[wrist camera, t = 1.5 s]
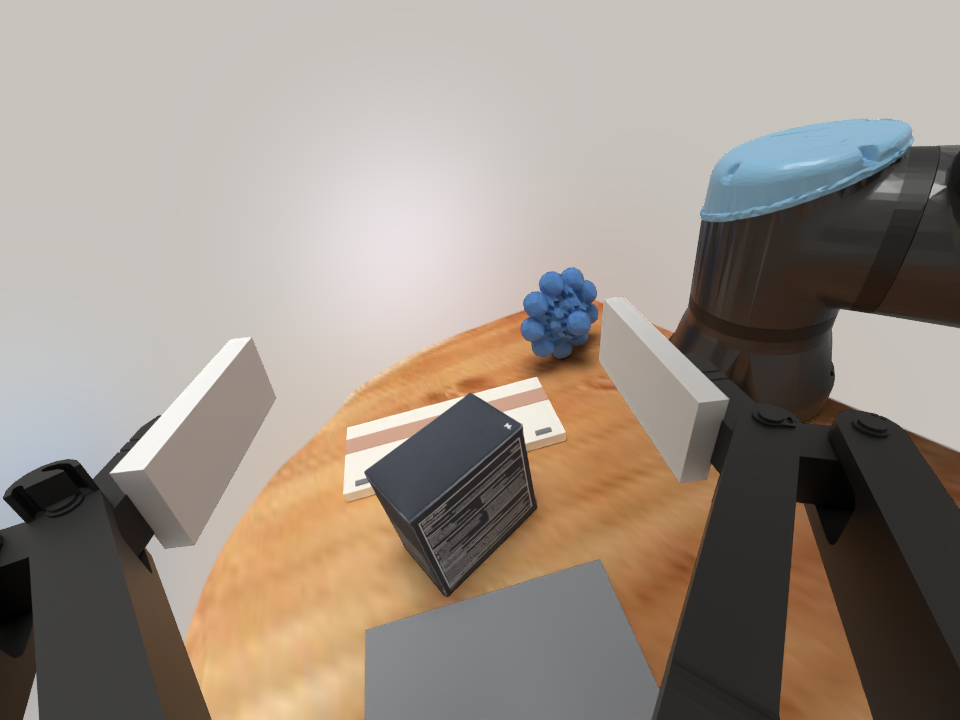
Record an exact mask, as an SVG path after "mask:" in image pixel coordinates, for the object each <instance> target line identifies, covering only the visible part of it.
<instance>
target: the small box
mask: <svg viewBox="0 0 960 720" xmlns="http://www.w3.org/2000/svg"><path fill="white" fill-rule="evenodd" d="M364 474H365V476H366V478H367V480H368V481H369V483H370V485H371V486H372V488H373V490H374V492H375V494H376V495H377V497H378V499H379V501H380V503H381V504H382V506H383V508H384V510H385V512H386V513H387V515H388V517H389V519H390V521H391V522H392V524H393V526H394V528H395V530H396V532H397V533H398V535H399V537H400V539H401V541H402V542H403V545H404V547H405V548H406V549H407V551H408V552H409V553H410V555H411V556H412V557H413V558H414V560H415V561H416V562H417V563H418V564H419V566H420V567H421V568H422V569H423V570H424V572H425V573H426V574H427V575H428V577H429V578H430V579H431V580H432V581H433V583H434V584H435V585H436V586H437V587H438V589H439V590H440V591H441V592H442V594H443V595H444V596H449V595H450V594H451V593H452V592H453V591H454V590H455V589H456V588H457V587H458V586H459V585H460V584H461V583H462V582H463V581H464V580H465V579H466V578H467V577H468V576H469V575H470V574H471V573H472V572H473V571H474V570H475V569H476V568H477V567H478V566H479V565H480V564H481V563H482V562H483V561H484V560H485V559H486V558H487V557H488V556H489V555H490V554H491V553H492V552H493V551H494V550H495V549H496V548H497V547H498V546H499V545H500V544H501V543H502V542H503V541H504V540H505V539H506V538H507V537H508V536H509V535H510V534H511V533H512V532H513V531H514V530H515V529H516V528H517V527H518V526H519V525H520V524H521V523H522V522H523V521H524V520H525V519H526V518H527V517H528V516H529V515H530V514H531V513H532V512H533V511H534V510H535V509H536V508H537V502H536V499H535V495H534V491H533V485H532V479H531V474H530V468H529V462H528V457H527V450H526V445H525V439H524V434H523V424H521V423H520V422H518V421H516V420H515V419H513V418H511V417H510V416H508V415H506V414H505V413H503V412H502V411H500V410H498V409H497V408H495V407H494V406H492V405H490V404H489V403H487V402H486V401H484V400H482V399H481V398H479V397H477V396H476V395H474V394H473V393H469V394H468V395H467V396H465V397H464V398H463V399H461V400H460V401H458V402H457V403H456V404H454V405H453V406H452V407H450V408H449V409H448V410H446V411H445V412H444V413H442V414H441V415H440V416H438V417H437V418H436V419H434V420H433V421H432V422H430V423H429V424H428V425H426V426H425V427H424V428H422V429H421V430H419V431H418V432H417V433H415V434H414V435H413V436H411V437H410V438H409V439H407V440H406V441H405V442H403V443H402V444H401V445H399V446H398V447H397V448H395V449H394V450H392V451H391V452H390V453H388V454H387V455H386V456H384V457H383V458H382V459H380V460H379V461H377V462H376V463H375V464H373V465H372V466H371V467H369V468H368V469H366V470H365V471H364Z"/></svg>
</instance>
